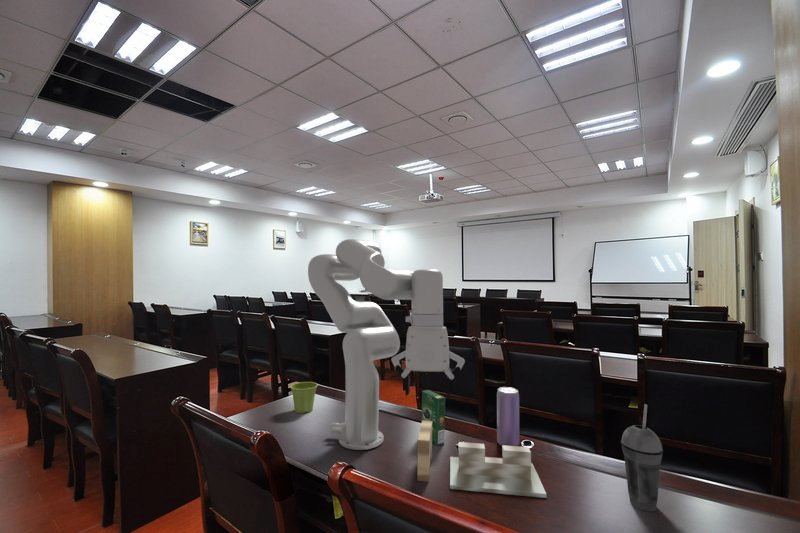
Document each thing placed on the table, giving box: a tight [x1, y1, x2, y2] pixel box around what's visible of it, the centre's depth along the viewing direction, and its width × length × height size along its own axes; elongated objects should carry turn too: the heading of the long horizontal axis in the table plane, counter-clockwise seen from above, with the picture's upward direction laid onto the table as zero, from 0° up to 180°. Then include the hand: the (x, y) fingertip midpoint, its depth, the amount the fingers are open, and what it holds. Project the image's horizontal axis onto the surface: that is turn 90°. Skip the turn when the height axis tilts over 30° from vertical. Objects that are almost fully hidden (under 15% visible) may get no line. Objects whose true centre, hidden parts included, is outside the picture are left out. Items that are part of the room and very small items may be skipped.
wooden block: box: [416, 419, 433, 483], centre depth 86 cm, size 12×3×9 cm, turn 172°
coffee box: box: [421, 389, 446, 446], centre depth 102 cm, size 8×3×13 cm, turn 32°
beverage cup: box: [620, 403, 664, 512], centre depth 73 cm, size 7×7×20 cm
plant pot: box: [289, 381, 319, 414], centre depth 124 cm, size 9×9×9 cm
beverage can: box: [496, 386, 520, 447], centre depth 100 cm, size 6×6×15 cm
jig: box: [449, 441, 548, 499], centre depth 82 cm, size 20×13×7 cm, turn 82°
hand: (427, 394), depth 83 cm, fingers open, 9 cm apart
